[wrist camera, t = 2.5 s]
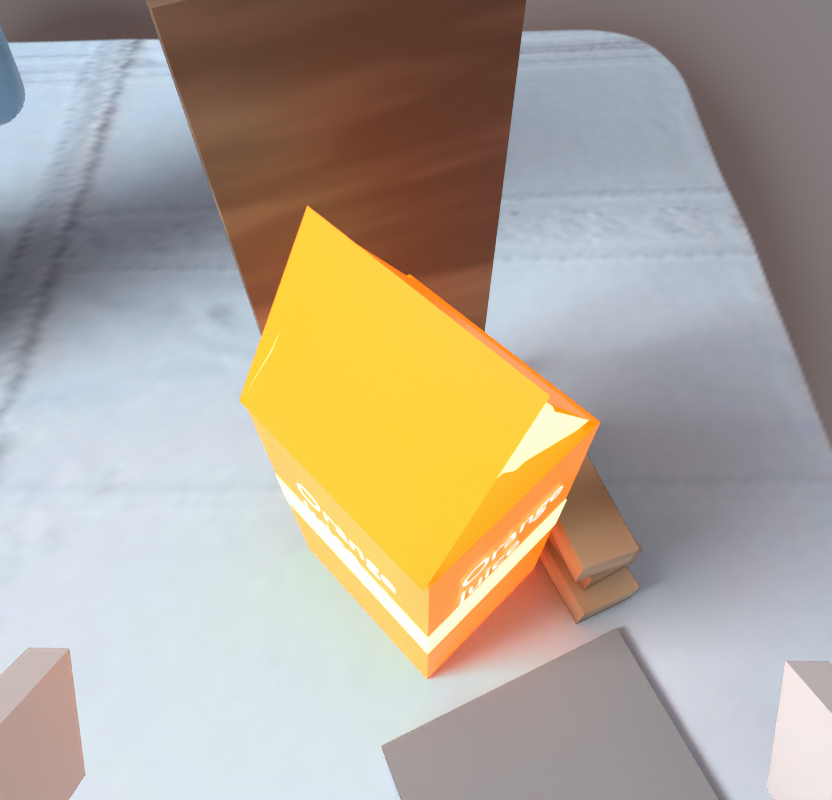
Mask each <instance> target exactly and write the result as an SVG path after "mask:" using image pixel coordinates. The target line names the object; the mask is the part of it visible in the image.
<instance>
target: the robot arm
mask: <svg viewBox="0 0 832 800" xmlns="http://www.w3.org/2000/svg"><path fill="white" fill-rule="evenodd" d="M24 100H25V90H24V86H23V82H22V79H21V76H20V74H19V71H18V69H17V66H16V63H15V61H14V58H13V56H12V53H11V51H10V48H9V46H8V43H7V40H6V38H5V36H4V33H3V31H2V28H1V26H0V125H3V124H6V123H8V122H10V121H11V120H12V119H14V118H15V117H16V115H17V114H18V113H19V112H20V111H21V109H22V107H23V103H24ZM84 776H85V769H84V761H83V753H82V745H81V737H80V729H79V721H78V713H77V705H76V698H75V690H74V682H73V674H72V666H71V658H70V650H69V648H28V649H27V650H26V651H25V652H24V653H23V654H22V655H21V656H20V657H19V658H18V659H17V660H15V661H14V662H13V663H12V664H11V665H10V666H9V667H8V668H7V669H6V670H5V671H4V672H3V673H2V674H1V675H0V800H69V799H70V797H71V796H72V794H73V793H74V791H75V790H76V788H77V786H78V785H79V783H80V782H81V780H82V779H83V777H84ZM767 790H768V792H769V793H770V795H771V797H772V798H773V800H832V665H831V664H830V663H829V662H826V661H785V668H784V675H783V682H782V689H781V696H780V702H779V709H778V716H777V723H776V730H775V737H774V743H773V750H772V757H771V764H770V771H769V778H768V784H767Z"/></svg>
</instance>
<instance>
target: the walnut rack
mask: <svg viewBox="0 0 832 800" xmlns="http://www.w3.org/2000/svg"><path fill="white" fill-rule="evenodd" d="M146 3H147V6H148V9H149V11H150V14H151V17H152V20H153V23H154V26H155V29H156V32H157V35H158V37H159V40H160V43H161V46H162V49H163V52H164V55H165V58H166V61H167V64H168V67H169V69H170V72H171V75H172V78H173V81H174V84H175V87H176V90H177V93H178V96H179V98H180V101H181V104H182V107H183V110H184V113H185V116H186V119H187V122H188V125H189V127H190V130H191V133H192V136H193V139H194V142H195V145H196V148H197V151H198V154H199V156H200V159H201V162H202V165H203V168H204V171H205V174H206V177H207V180H208V183H209V185H210V188H211V191H212V194H213V197H214V200H215V203H216V206H217V209H218V212H219V214H220V217H221V220H222V223H223V226H224V229H225V232H226V235H227V238H228V241H229V243H230V246H231V249H232V252H233V255H234V258H235V261H236V264H237V267H238V270H239V272H240V275H241V278H242V281H243V284H244V287H245V290H246V293H247V296H248V299H249V301H250V304H251V307H252V310H253V313H254V316H255V319H256V322H257V325H258V328H259V330H260V333H261V336H262V334H263V331H264V328H265V325H266V323H267V320H268V317H269V314H270V311H271V308H272V305H273V302H274V300H275V297H276V294H277V291H278V288H279V285H280V282H281V280H282V277H283V274H284V271H285V268H286V265H287V262H288V259H289V257H290V254H291V251H292V248H293V245H294V242H295V239H296V237H297V234H298V231H299V228H300V225H301V222H302V219H303V216H304V214H305V211H306V208H307V206H308V207H310V208H311V209H312V210H314V211H315V212H316V213H317V214H319V215H320V216H321V217H323V218H324V219H325V220H326V221H328V222H329V223H330V224H331V225H333V226H334V227H335V228H337V229H338V230H339V231H340V232H342V233H343V234H344V235H345V236H347V237H348V238H349V239H351V240H352V241H353V242H354V243H356V244H357V245H359V246H360V247H362V248H364V249H365V250H367V251H368V252H370V253H372V254H373V255H375V256H376V257H378V258H379V259H381V260H383V261H384V262H386V263H387V264H389V265H390V266H392V267H394V268H395V269H397V270H398V271H400V272H401V273H403V274H405V275H406V276H408V275H409V274H410V275H411V276H413V277H414V278H415V279H416V280H418V281H419V282H420V283H422V284H423V285H424V286H426V287H427V288H428V289H429V290H431V291H432V292H433V293H435V294H436V295H437V296H438V297H440V298H441V299H442V300H444V301H445V302H446V303H448V304H449V305H450V306H451V307H453V308H454V309H455V310H457V311H458V312H459V313H460V314H462V315H463V316H464V317H466V318H467V319H468V320H469V321H471V322H472V323H473V324H475V325H476V326H477V327H479V328H480V329H481V330H482V331H485V323H486V315H487V307H488V300H489V292H490V284H491V276H492V268H493V260H494V252H495V244H496V236H497V228H498V220H499V212H500V204H501V196H502V188H503V180H504V172H505V164H506V156H507V148H508V140H509V132H510V124H511V116H512V108H513V100H514V92H515V84H516V76H517V68H518V60H519V52H520V44H521V36H522V28H523V20H524V12H525V4H526V0H146ZM566 499H567V500H566V502H565V505H564V507H563V509H562V511H561V513H560V516H559V518H558V520H557V522H556V524H555V525H554V526H553V528H552V530H551V532H550V534H549V537H548V539H547V541H546V543H545V545H544V548H543V550H542V552H541V554H540V556H539V558H540V560H541V562H542V563H543V565H544V567H545V569H546V571H547V572H548V574H549V576H550V578H551V579H552V581H553V583H554V585H555V587H556V588H557V590H558V592H559V594H560V595H561V597H562V599H563V601H564V602H565V604H566V606H567V608H568V610H569V611H570V613H571V615H572V617H573V618H574V620H575V622H576V624H577V623H579V622H581V621H583V620H585V619H587V618H589V617H591V616H593V615H595V614H597V613H599V612H601V611H603V610H605V609H607V608H610V607H612V606H614V605H616V604H618V603H620V602H622V601H624V600H626V599H628V598H630V597H631V596H632V595H633V594H634V592H635V591H636V590H637V589H638V588H639V585H638V583H637V582H636V580H635V579H634V577H633V576H632V574H631V572H630V571H629V569H628V568H627V566H628V565H629V564H631V563H632V562H633V561H634V560H635V559H636V557H637V556H638V555H639V554H640V553H641V551H642V549H641V547H640V546H639V545H638V543H637V542H636V541H635V539H634V538H633V537H632V535H631V533H630V531H629V529H628V527H627V526H626V524H625V522H624V520H623V518H622V517H621V515H620V513H619V511H618V509H617V507H616V506H615V504H614V502H613V500H612V498H611V497H610V495H609V493H608V491H607V489H606V487H605V486H604V484H603V482H602V480H601V478H600V476H599V475H598V473H597V471H596V469H595V467H594V466H593V464H592V462H591V460H590V458H589V456H588V455H587V453H586V455H585V457H584V460H583V462H582V464H581V466H580V468H579V471H578V473H577V475H576V477H575V479H574V482H573V484H572V486H571V488H570V490H569V493H568V495H567V497H566Z"/></svg>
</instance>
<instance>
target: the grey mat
mask: <svg viewBox="0 0 832 800" xmlns="http://www.w3.org/2000/svg"><path fill="white" fill-rule="evenodd" d="M381 747H382V750H383V753H384V755H385V758H386V761H387V763H388V766H389V769H390V772H391V774H392V777H393V780H394V782H395V785H396V788H397V790H398V793H399V796H400V799H401V800H719V799H718V797H717V796H716V794H715V792H714V791H713V789H712V787H711V786H710V784H709V782H708V781H707V779H706V777H705V775H704V774H703V772H702V770H701V769H700V767H699V765H698V764H697V762H696V760H695V759H694V757H693V755H692V754H691V752H690V750H689V749H688V747H687V745H686V744H685V742H684V740H683V738H682V737H681V735H680V733H679V732H678V730H677V728H676V727H675V725H674V723H673V722H672V720H671V718H670V717H669V715H668V713H667V712H666V710H665V708H664V707H663V705H662V703H661V701H660V700H659V698H658V696H657V695H656V693H655V691H654V690H653V688H652V686H651V685H650V683H649V681H648V680H647V678H646V676H645V675H644V673H643V671H642V670H641V668H640V666H639V664H638V663H637V661H636V659H635V658H634V656H633V654H632V653H631V651H630V649H629V648H628V646H627V644H626V643H625V641H624V639H623V638H622V636H621V634H620V633H619V631H618V629H617V628H616V629H614V630H612V631H610V632H608V633H606V634H604V635H602V636H600V637H598V638H596V639H594V640H592V641H590V642H588V643H586V644H584V645H582V646H580V647H578V648H576V649H574V650H572V651H570V652H568V653H566V654H564V655H562V656H560V657H558V658H556V659H554V660H552V661H550V662H548V663H546V664H544V665H542V666H540V667H538V668H536V669H534V670H532V671H530V672H528V673H526V674H524V675H522V676H520V677H518V678H516V679H514V680H512V681H510V682H508V683H506V684H504V685H502V686H500V687H498V688H496V689H494V690H492V691H490V692H488V693H486V694H484V695H482V696H480V697H478V698H476V699H474V700H472V701H470V702H468V703H466V704H464V705H462V706H460V707H458V708H456V709H454V710H452V711H450V712H448V713H446V714H444V715H442V716H440V717H438V718H436V719H434V720H432V721H430V722H428V723H426V724H424V725H422V726H420V727H418V728H416V729H414V730H412V731H410V732H408V733H406V734H404V735H402V736H400V737H398V738H396V739H394V740H392V741H390V742H388V743H386V744H384V745H382V746H381Z"/></svg>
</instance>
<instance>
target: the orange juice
mask: <svg viewBox="0 0 832 800" xmlns="http://www.w3.org/2000/svg"><path fill="white" fill-rule="evenodd" d="M239 401H240V402H241V403H242V404H243V405H244V406H245V407H246V408H247V409H248V411H249V413H250V415H251V417H252V420H253V422H254V424H255V426H256V429H257V431H258V433H259V435H260V438H261V440H262V442H263V445H264V447H265V449H266V451H267V454H268V456H269V458H270V460H271V463H272V465H273V467H274V469H275V472H276V477H277V479H278V481H279V484H280V486H281V488H282V490H283V493H284V495H285V497H286V499H287V501H288V502H289V503H290V506H291V508H292V510H293V512H294V515H295V517H296V519H297V521H298V524H299V526H300V528H301V531H302V533H303V535H304V537H305V540H306V542H307V544H308V546H309V548H310V549H311V550H312V552H313V553H314V554H315V555H316V556H317V557H318V558H319V559H320V560H321V562H322V563H323V564H324V565H325V566H326V567H327V568H328V569H329V571H330V572H331V573H332V574H333V575H334V576H335V577H336V578H337V579H338V581H339V582H340V583H341V584H342V585H343V586H344V587H345V588H346V589H347V591H348V592H349V593H350V594H351V595H352V596H353V597H354V598H355V599H356V601H357V602H358V603H359V604H360V605H361V606H362V607H363V608H364V609H365V611H366V612H367V613H368V614H369V615H370V616H371V617H372V618H373V620H374V621H375V622H376V623H377V624H378V625H379V626H380V627H381V628H382V630H383V631H384V632H385V633H386V634H387V635H388V636H389V637H390V638H391V640H392V641H393V642H394V643H395V644H396V645H397V646H398V647H399V648H400V650H401V651H402V652H403V653H404V654H405V655H406V656H407V657H408V658H409V660H410V661H411V662H412V663H413V664H414V665H415V666H416V667H417V668H418V670H419V671H420V672H421V673H422V674H423V675H424V676H425V677H426V679H428V678H429V677H430V676H431V675H432V674H433V673H434V672H435V671H436V670H437V669H438V668H439V667H440V665H441V664H442V663H443V662H444V661H445V660H446V659H447V658H448V657H449V656H450V655H451V654H452V653H453V652H454V651H455V650H456V649H457V648H458V647H459V646H460V645H461V644H462V643H463V642H464V641H465V640H466V638H467V637H468V636H469V635H470V634H471V633H472V632H473V631H474V630H475V629H476V628H477V627H478V626H479V625H480V624H481V623H482V622H483V621H484V620H485V619H486V618H487V617H488V616H489V615H490V614H491V613H492V612H493V610H494V609H495V608H496V607H497V606H498V605H499V604H500V603H501V602H502V601H503V600H504V599H505V598H506V597H507V596H508V595H509V594H510V593H511V592H512V591H513V590H514V589H515V588H516V587H517V586H518V585H519V583H520V582H521V581H522V580H523V579H524V578H525V577H526V576H527V575H528V574H529V573H530V572H531V571H532V570H533V569H534V567H535V565H536V563H537V561H538V559H539V556H540V554H541V552H542V550H543V548H544V545H545V543H546V541H547V539H548V537H549V534H550V532H551V530H552V528H553V526H554V525H555V524H556V522H557V520H558V518H559V516H560V513H561V511H562V509H563V507H564V505H565V502H566V500H567V499H566V497H567V495H568V493H569V490H570V488H571V486H572V484H573V482H574V479H575V477H576V475H577V473H578V471H579V468H580V466H581V464H582V462H583V460H584V457H585V455H586V453H587V451H588V449H589V446H590V444H591V442H592V440H593V438H594V435H595V433H596V431H597V429H598V427H599V424H600V421H599V420H597V419H596V418H595V417H594V416H592V415H591V414H590V413H588V412H587V411H586V410H584V409H583V408H582V407H581V406H579V405H578V404H577V403H575V402H574V401H573V400H572V399H570V398H569V397H568V396H566V395H565V394H564V393H563V392H561V391H560V390H559V389H557V388H556V387H555V386H553V385H552V384H551V383H550V382H548V381H547V380H546V379H544V378H543V377H542V376H541V375H539V374H538V373H537V372H535V371H534V370H533V369H532V368H530V367H529V366H528V365H526V364H525V363H524V362H522V361H521V360H520V359H519V358H517V357H516V356H515V355H513V354H512V353H511V352H510V351H508V350H507V349H506V348H504V347H503V346H502V345H500V344H499V343H498V342H497V341H495V340H494V339H493V338H491V337H490V336H489V335H488V334H486V333H485V332H484V331H482V330H481V329H480V328H479V327H477V326H476V325H475V324H473V323H472V322H471V321H469V320H468V319H467V318H466V317H464V316H463V315H462V314H460V313H459V312H458V311H457V310H455V309H454V308H453V307H451V306H450V305H449V304H448V303H446V302H445V301H444V300H442V299H441V298H440V297H438V296H437V295H436V294H435V293H433V292H432V291H431V290H429V289H428V288H427V287H426V286H424V285H423V284H422V283H420V282H419V281H418V280H416V279H415V278H414V277H413V276H411V275H410V274H409V275H408V276H406V275H405V274H403V273H401V272H400V271H398V270H397V269H395V268H394V267H392V266H390V265H389V264H387V263H386V262H384V261H383V260H381V259H379V258H378V257H376V256H375V255H373V254H372V253H370V252H368V251H367V250H365V249H364V248H362V247H360V246H359V245H357V244H356V243H354V242H353V241H352V240H351V239H349V238H348V237H347V236H345V235H344V234H343V233H342V232H340V231H339V230H338V229H337V228H335V227H334V226H333V225H331V224H330V223H329V222H328V221H326V220H325V219H324V218H323V217H321V216H320V215H319V214H317V213H316V212H315V211H314V210H312V209H311V208H310V207H308V206H307V208H306V211H305V214H304V216H303V219H302V222H301V225H300V228H299V231H298V234H297V237H296V239H295V242H294V245H293V248H292V251H291V254H290V257H289V259H288V262H287V265H286V268H285V271H284V274H283V277H282V280H281V282H280V285H279V288H278V291H277V294H276V297H275V300H274V302H273V305H272V308H271V311H270V314H269V317H268V320H267V323H266V325H265V328H264V331H263V334H262V337H261V340H260V343H259V345H258V348H257V351H256V354H255V357H254V360H253V363H252V366H251V368H250V371H249V374H248V377H247V380H246V383H245V386H244V388H243V391H242V394H241V397H240V400H239Z"/></svg>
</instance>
